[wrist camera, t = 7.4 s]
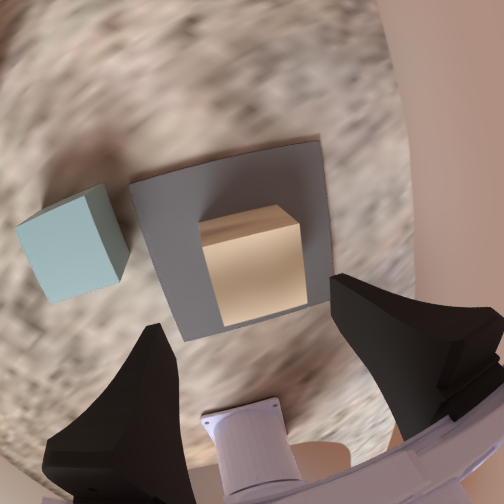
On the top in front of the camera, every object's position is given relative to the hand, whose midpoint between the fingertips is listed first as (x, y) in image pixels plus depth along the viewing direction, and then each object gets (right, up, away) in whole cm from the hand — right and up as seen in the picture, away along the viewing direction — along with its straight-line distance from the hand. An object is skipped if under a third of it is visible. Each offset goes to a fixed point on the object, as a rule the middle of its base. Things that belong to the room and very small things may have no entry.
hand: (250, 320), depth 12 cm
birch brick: (0, +3, +7) cm, 8 cm away
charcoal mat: (0, +3, +8) cm, 9 cm away
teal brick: (-11, +4, +5) cm, 13 cm away
